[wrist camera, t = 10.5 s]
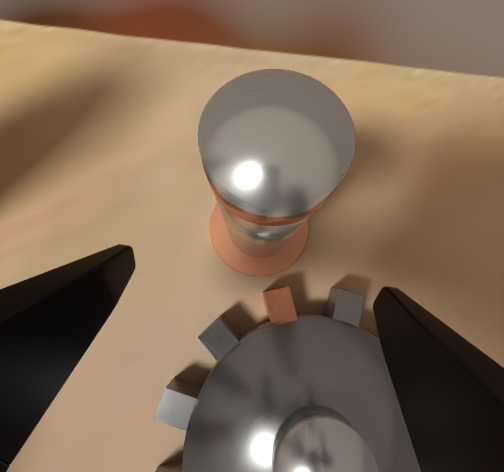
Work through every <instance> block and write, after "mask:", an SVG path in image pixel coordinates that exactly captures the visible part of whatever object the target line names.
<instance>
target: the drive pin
mask: <svg viewBox="0 0 504 472" xmlns="http://www.w3.org/2000/svg"><path fill="white" fill-rule="evenodd" d="M198 145H199V150H200V154H201V156H202V161H203V166H204V170H205V173H206V176H207V178H208V181H209V184H210V186H211V189H212V191H213V193H214V194H215V196H216V199H217V202H218V205H219V207H220V210H221V213H222V216H223V219H224V222H225V224H226V227H227V230H228V233H229V236H230V239H231V241H232V243H233V244H234V245H235V247H236V248H237V249H238V250H240V251H241V252H242V253H244V254H246V255H248V256H252V257H259V258H261V257H267V256H271V255H273V254H275V253H277V252H278V251H279V250H280V249H282V248H283V246H284V245H285V244H286V243H287V242H288V241H289V240H290V238H291V237H292V236H293V235H294V234H295V233H296V232H297V231H298V229H299V228H300V227H301V226H302V225H303V224H304V223H305V221H306V220H307V219H308V218H309V217H310V216H311V215H312V214H313V213H314V212H315V211H316V210H317V209H318V208H320V207H321V206H322V204H323V203H324V202H325V201H326V200H327V199H328V198H329V197H330V195H331V194H332V193H333V192H334V191H335V189H336V187H337V186H338V184H339V183H340V182H341V180H342V179H343V178H344V177H345V175H346V173H347V172H348V170H349V168H350V166H351V163H352V161H353V157H354V153H355V145H356V137H355V129H354V125H353V122H352V119H351V116H350V114H349V112H348V110H347V108H346V107H345V105H344V104H343V102H342V101H341V100H340V98H339V97H338V96H337V95H336V94H335V93H334V92H333V91H332V90H330V89H329V88H328V87H327V86H325V85H324V84H322V83H321V82H319V81H318V80H316V79H314V78H312V77H310V76H307V75H305V74H302V73H298V72H295V71H290V70H283V69H264V70H258V71H253V72H250V73H246V74H243V75H241V76H239V77H236V78H235V79H233V80H231V81H229V82H228V83H226V84H225V85H224V86H222V87H221V88H220V89H219V90H218V91H217V92H216V93H215V94H214V95H213V96H212V97H211V99H210V100H209V101H208V103H207V105H206V106H205V108H204V110H203V113H202V115H201V118H200V122H199V128H198Z"/></svg>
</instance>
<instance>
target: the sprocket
mask: <svg viewBox="0 0 504 472" xmlns="http://www.w3.org/2000/svg"><path fill="white" fill-rule="evenodd" d="M263 296H264V300H265V304H266V309H267V313H268V317H269V320H268V321H266V322H263V323H261V324H259V325H257V326H255V327H254V328H252V329H250V330H248V331H247V332H246V333H244V334H243V335H242V336H239V335H238V334H237V332H236V331H235V330H234V329H233V328H232V327H231V325H230V324H229V323H228V322H227V321H226V320H225V318H224V317H223V316H222V315H220V316H219V317H218V318H217V319H216V320H215V321H214V322H213V323H212V324H211V325H210V326H209V327H208V328H207V329H206V330H205V331H204V332H203V333H202V334H201V335H200V336H199V337H198V338H199V339H200V341H201V342H202V343H203V344H204V345H205V347H206V348H207V349H208V350H209V351H210V353H211V354H212V355H213V356H214V358H215V359H216V360H217V362H216V363H215V364H214V366H213V368H212V369H211V371H210V373H209V374H208V376H207V378H206V380H205V382H204V384H203V386H202V387H200V386H197V385H194V384H191V383H189V382H186V381H183V380H180V379H177V378H173V379H172V381H171V382H170V383H169V384H168V386H167V387H166V388H165V391H164V394H163V397H162V399H161V402H160V405H159V408H158V411H157V414H156V416H155V419H154V420H157V421H160V422H163V423H165V424H168V425H171V426H174V427H177V428H180V429H182V430H185V431H187V432H186V437H185V442H184V450H183V460H180V461H177V462H173V463H170V464H166V465H163V466H159V467H157V469H156V471H155V472H421V470H420V467H419V464H418V461H417V458H416V455H415V452H414V449H413V446H412V442H411V439H410V436H409V433H408V430H407V427H406V424H405V421H404V417H403V414H402V411H401V408H400V405H399V402H398V399H397V396H396V393H395V389H394V386H393V383H392V380H391V377H390V374H389V371H388V368H387V365H386V361H385V358H384V355H383V352H382V348H381V344H380V339H379V338H378V337H376V336H375V335H373V334H371V333H370V332H368V331H366V330H364V329H362V328H360V327H359V323H360V318H361V312H362V307H363V302H364V297H365V296H362V295H359V294H355V293H352V292H349V291H346V290H343V289H339V288H331V289H330V294H329V298H328V302H327V307H326V311H325V316H323V315H317V314H296V310H295V306H294V303H293V299H292V295H291V291H290V287H282V288H278V289H273V290H269V291H265V292H263Z"/></svg>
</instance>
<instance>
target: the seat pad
mask: <svg viewBox="0 0 504 472" xmlns="http://www.w3.org/2000/svg"><path fill="white" fill-rule="evenodd" d="M308 230H309V229H308V219H307V220H306V221H305V223H304V224H303V225H302V226H301V227H300V228H299V229H298V231H297V232H296V233H295V234H294V235H293V236H292V237H291V238H290V240H289V241H288V242H287V243H286V244H285V245H284V246H283V248H282V249H280V250H279V251H278V252H277V253H275V254H273V255H271V256H267V257H261V258H259V257H252V256H248V255H246V254H244V253H242V252H241V251H240V250H238V249H237V248H236V247H235V245H234V244H233V243H232V241H231V239H230V236H229V233H228V230H227V227H226V224H225V222H224V219H223V216H222V213H221V210H220V207H219V205H218V202H217V204H216V206H215V208H214V210H213V213H212V216H211V221H210V235H211V239H212V243H213V245H214V248H215V249H216V251H217V253H218V254H219V256H220V257H221V258H222V259H223V260H224V262H225V263H227V264H228V265H229V266H230V267H232V268H233V269H235V270H237V271H239V272H241V273H244V274H248V275H253V276H266V275H272V274H275V273H278V272H280V271H282V270H284V269H286V268H288V267H289V266H290V265H291V264H293V263H294V262H295V261H296V260H297V259H298V257H299V256H300V255H301V253H302V251H303V250H304V247H305V245H306V242H307V238H308Z"/></svg>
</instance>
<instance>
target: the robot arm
mask: <svg viewBox="0 0 504 472" xmlns="http://www.w3.org/2000/svg"><path fill="white" fill-rule="evenodd" d="M134 270H135V259H134V253H133V249H132V247H131V246H128V245H121V244H119V245H116V246H113V247H111V248H108V249H105V250H103V251H100V252H97V253H95V254H92V255H90V256H87V257H84V258H82V259H79V260H76V261H74V262H71V263H69V264H66V265H63V266H61V267H58V268H55V269H53V270H50V271H48V272H45V273H42V274H40V275H37V276H34V277H32V278H29V279H27V280H24V281H21V282H19V283H16V284H13V285H11V286H8V287H5V288H3V289H0V472H6V471H7V469H8V468H9V465H10V464H11V463H12V461H13V460H14V458H15V457H16V455H17V454H18V452H19V451H20V449H21V448H22V446H23V445H24V443H25V442H26V440H27V439H28V437H29V436H30V434H31V433H32V431H33V430H34V428H35V427H36V425H37V424H38V422H39V421H40V419H41V418H42V416H43V415H44V413H45V412H46V410H47V409H48V407H49V406H50V404H51V403H52V401H53V400H54V398H55V397H56V395H57V394H58V392H59V391H60V389H61V388H62V386H63V385H64V383H65V382H66V380H67V379H68V377H69V376H70V374H71V373H72V371H73V370H74V368H75V367H76V365H77V364H78V362H79V361H80V359H81V358H82V356H83V355H84V353H85V352H86V350H87V349H88V347H89V346H90V344H91V343H92V341H93V340H94V338H95V337H96V335H97V334H98V332H99V331H100V329H101V328H102V326H103V325H104V323H105V322H106V320H107V319H108V317H109V316H110V314H111V313H112V311H113V309H114V308H115V306H116V304H117V303H118V301H119V299H120V297H121V295H122V293H123V291H124V289H125V287H126V286H127V284H128V282H129V280H130V278H131V276H132V274H133V272H134ZM373 310H374V315H375V320H376V325H377V329H378V334H379V339H380V344H381V348H382V352H383V355H384V358H385V361H386V365H387V368H388V371H389V374H390V377H391V380H392V383H393V386H394V389H395V393H396V396H397V399H398V402H399V405H400V408H401V411H402V414H403V417H404V421H405V424H406V427H407V430H408V433H409V436H410V439H411V442H412V446H413V449H414V452H415V455H416V458H417V461H418V464H419V467H420V470H421V472H504V368H503V367H502V366H500V365H499V364H498V363H496V362H495V361H494V360H492V359H491V358H490V357H488V356H487V355H486V354H484V353H483V352H482V351H480V350H479V349H478V348H476V347H475V346H474V345H472V344H471V343H470V342H468V341H467V340H466V339H464V338H463V337H462V336H460V335H459V334H458V333H456V332H455V331H454V330H452V329H451V328H450V327H448V326H447V325H446V324H444V323H443V322H442V321H440V320H439V319H438V318H436V317H435V316H434V315H432V314H431V313H430V312H428V311H427V310H426V309H424V308H423V307H422V306H420V305H419V304H418V303H416V302H415V301H414V300H412V299H411V298H410V297H408V296H407V295H406V294H404V293H403V292H402V291H400V290H399V289H397V288H394V287H387V286H385V287H383V288H382V289H381V291H380V292H379V294H378V296H377V298H376V299H375V301H374V304H373Z"/></svg>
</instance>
